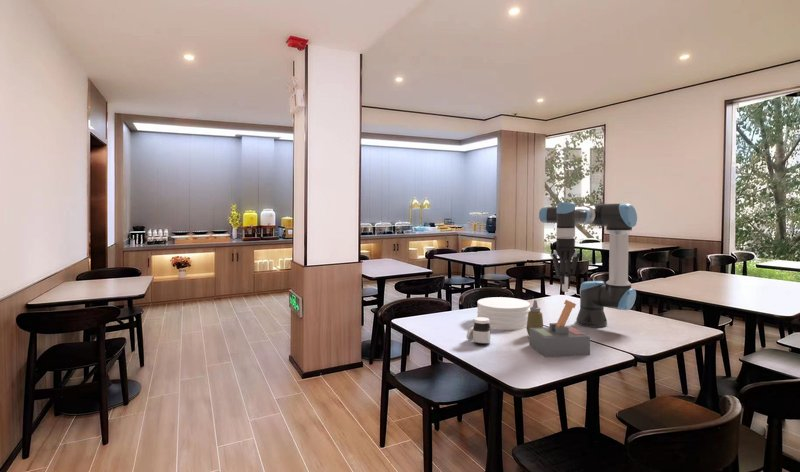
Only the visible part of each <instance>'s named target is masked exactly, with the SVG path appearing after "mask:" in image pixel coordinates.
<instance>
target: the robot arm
mask: <svg viewBox="0 0 800 472" xmlns="http://www.w3.org/2000/svg"><path fill="white" fill-rule="evenodd" d="M538 219H539V221H540V223H541V222H542V223H543V224H544V223H545V224H556V237H557V238H556V242H555V243H556V249H555V251H554V252H553V253H550V257H551V260H552V263H553V266H554V271H555V275H557V276H559V277H560V279H559V281H560V283H559V284H561V291H562V292H564V293H568V292H569V285H570V283H571V278H572V276H575V274H576V271H577V266H578V261H579V259H580V257H581V253H579V252H577V251H576V249H575V246H576V239H575V236H576V224H577V225H578V224H583V225H589V226H590V225H591V226H599V227H605V228H606V229H605V230H606V231H607V233H608V234H609V245H608V246H609V252H608V253H609V261H608V263H609V266H608V268H609V269H608V280H607V281H606V282H605V281H603V280H589V281H583V282H581V284H580V289H579V294H580V297H579V299H580V302H579V311H578V313H577V317H576V319H575V320H576V321H575V322H576V323H577V324H578V325H580V326H583V327H589V328H604V327H607V326H608V320H607V317H606V314H605V310H604V309H605V308H608V309H615V310H619V311H629V310H631V309H632V307H633V306H634V304H635V301H636V298H637V292H636V289H635V288H633V287H632V283H631V282H630V281H629V234H630V233H631V232H632V231H633V228H634V227H636V225H637V222H638V214H637V210H636V208H635V207H634V205H632V204H631V203H624V202H623V203H622V202H621V203H598V204H591V205H583V206H576V203H575V202H572V201H571V202H570V201H568V202H558V203H557V204H556V206H545V207H541V208H540V210H539V212H538ZM558 258H559V260H558Z"/></svg>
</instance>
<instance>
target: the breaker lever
mask: <svg viewBox="0 0 800 472" xmlns="http://www.w3.org/2000/svg"><path fill="white" fill-rule="evenodd" d="M563 305H564V307H563V309H562V312H561V314H560V316H559V318H558V320H557V322H556V323H557V324H556V326H555V327H561V326H566V324H567V322H568V319H569V317H570V314H571V313H572V311H573V309H575V307H576V306H577V304H576V303H575V302H572V301H569V300H568V299H565V300H564V303H563Z"/></svg>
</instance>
